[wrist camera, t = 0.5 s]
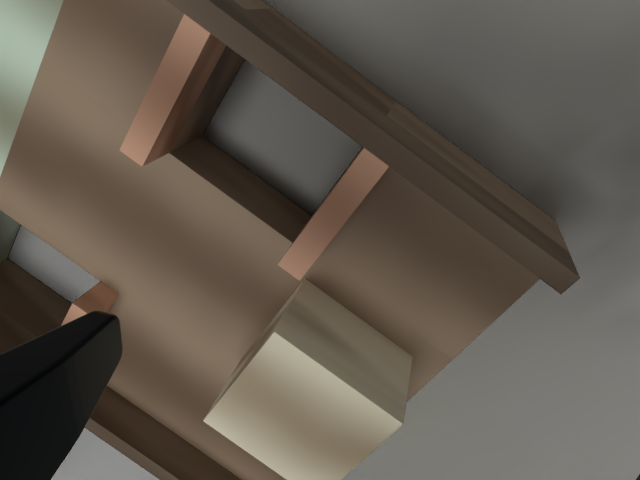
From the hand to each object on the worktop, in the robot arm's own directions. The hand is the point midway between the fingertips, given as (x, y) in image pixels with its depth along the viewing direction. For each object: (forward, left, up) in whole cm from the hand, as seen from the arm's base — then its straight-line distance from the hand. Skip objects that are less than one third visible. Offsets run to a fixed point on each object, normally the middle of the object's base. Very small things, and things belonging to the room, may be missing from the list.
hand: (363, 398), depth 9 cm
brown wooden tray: (-9, +8, -15) cm, 19 cm away
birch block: (-9, -2, -12) cm, 14 cm away
